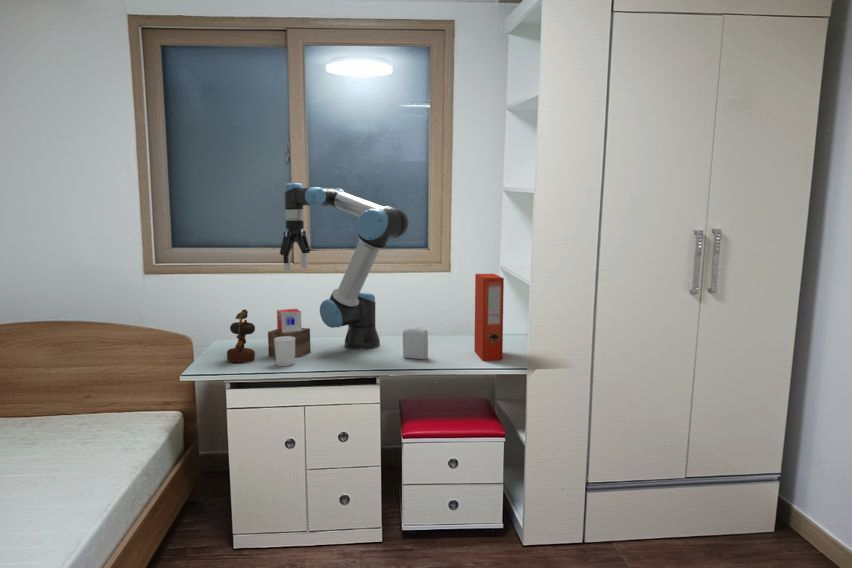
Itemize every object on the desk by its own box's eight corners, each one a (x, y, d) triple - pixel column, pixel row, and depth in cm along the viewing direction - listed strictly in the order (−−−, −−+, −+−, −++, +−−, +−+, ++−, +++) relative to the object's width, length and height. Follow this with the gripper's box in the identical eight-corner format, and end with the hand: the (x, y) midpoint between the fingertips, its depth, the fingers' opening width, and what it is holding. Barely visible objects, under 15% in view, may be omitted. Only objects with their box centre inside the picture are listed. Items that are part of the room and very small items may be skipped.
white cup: (276, 362, 246) (275, 336, 245) (297, 361, 247) (296, 336, 245) (273, 367, 238) (272, 340, 237) (295, 366, 239) (294, 340, 238)
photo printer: (401, 358, 251) (401, 327, 250) (406, 355, 255) (405, 325, 254) (425, 360, 247) (424, 328, 246) (429, 358, 251) (429, 327, 250)
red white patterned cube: (296, 327, 263) (296, 308, 262) (301, 330, 256) (301, 311, 255) (277, 329, 260) (276, 310, 259) (281, 332, 253) (281, 312, 252)
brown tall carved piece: (255, 363, 244) (254, 311, 242) (225, 365, 241) (223, 313, 239) (256, 354, 258) (254, 306, 256) (228, 356, 256) (226, 307, 254)
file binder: (493, 350, 263) (494, 273, 260) (503, 360, 246) (503, 277, 243) (474, 351, 262) (474, 273, 259) (482, 361, 245) (482, 278, 242)
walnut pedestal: (310, 352, 262) (309, 328, 261) (294, 358, 251) (293, 333, 250) (285, 350, 267) (284, 326, 265) (268, 356, 255) (267, 331, 254)
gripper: (302, 219, 286) (303, 266, 288) (270, 220, 262) (271, 271, 265) (317, 219, 283) (318, 267, 285) (286, 220, 260) (287, 272, 262)
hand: (296, 269), depth 275 cm, fingers open, 13 cm apart
